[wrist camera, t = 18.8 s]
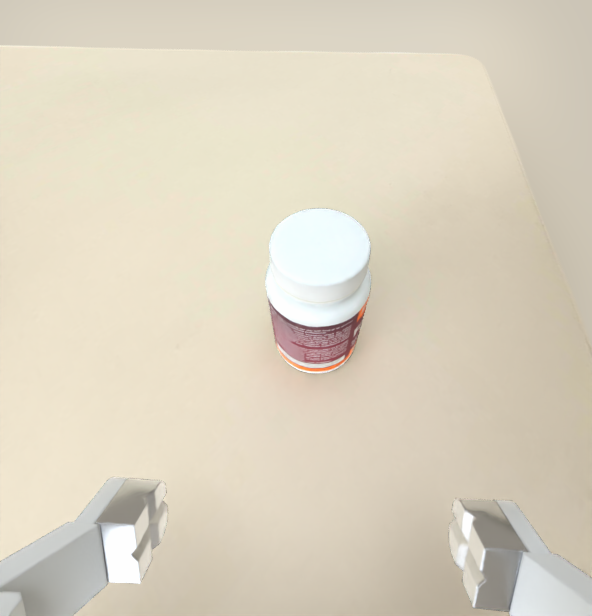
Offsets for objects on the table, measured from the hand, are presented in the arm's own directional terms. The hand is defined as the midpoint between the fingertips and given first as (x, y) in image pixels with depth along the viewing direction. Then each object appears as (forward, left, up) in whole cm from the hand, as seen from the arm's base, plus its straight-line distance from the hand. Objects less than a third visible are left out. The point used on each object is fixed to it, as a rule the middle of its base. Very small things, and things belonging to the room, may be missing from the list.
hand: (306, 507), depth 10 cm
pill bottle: (0, -9, -8) cm, 12 cm away
